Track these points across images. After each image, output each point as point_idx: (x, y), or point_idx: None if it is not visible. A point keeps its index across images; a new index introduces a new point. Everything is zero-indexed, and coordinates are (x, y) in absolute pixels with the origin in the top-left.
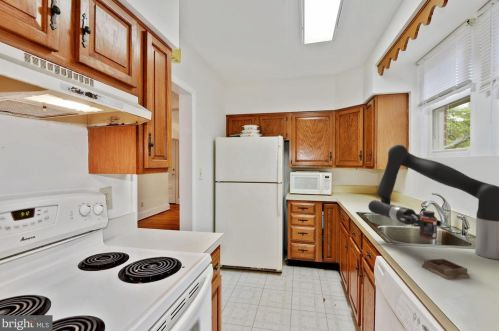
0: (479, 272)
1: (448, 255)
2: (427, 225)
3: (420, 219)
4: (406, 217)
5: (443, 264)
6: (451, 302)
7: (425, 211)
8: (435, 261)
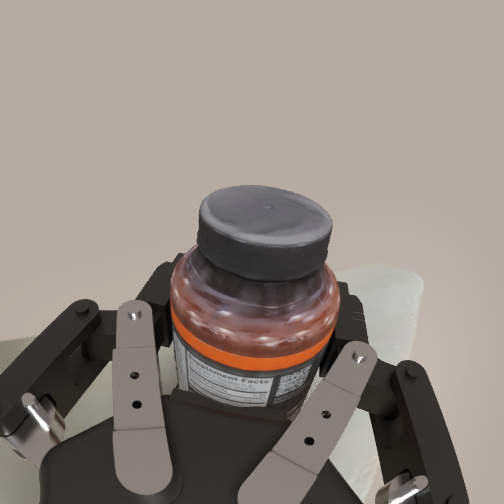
0: None
1: (16, 455)
2: None
3: (329, 337)
4: (444, 433)
5: None
6: (390, 304)
7: (311, 217)
8: None
